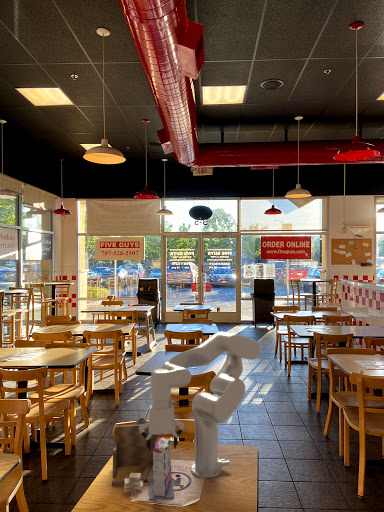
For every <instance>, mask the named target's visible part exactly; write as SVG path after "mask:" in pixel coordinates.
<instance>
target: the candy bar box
mask: <svg viewBox="0 0 384 512" xmlns="http://www.w3.org/2000/svg"><path fill="white" fill-rule="evenodd" d="M152 470H153V471H152V477H153V478H152V481H153V491H154V492H153V493H154V496H162V497H166V495H167V492H168V489H169V486H170V483H171V481H172V480H173V479H172V438H164V437H163V438H162V437H161V438H158V442H157V444H156V446H155V448H154V450H153V465H152Z"/></svg>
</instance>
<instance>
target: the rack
mask: <svg viewBox="0 0 384 512" xmlns="http://www.w3.org/2000/svg"><path fill="white" fill-rule="evenodd" d="M142 425H143V424H140V425H134V424H126V425H125V424H123V425H121V424H120V425H114V442H113V448H112V479H114V480H111V487H116V486H117V487H118V486H124V483H125V479H119V480H118V479H117V473H118V468H131V467H132V468H134V467H148V466H153V450H154V448H155V446H156V444H157V442H158V440H159V438H158V435H152V436H151V437H150V444H151V450H150V451H149V447H148V448H147V440H146V438H144V437H143V436H142V434H141V432H140V431H139V427H140V426H142ZM144 431H145V432H146V433H148V432H149V428H148V427H147V428H145V429H144ZM115 479H117V480H115ZM140 481H143V485H145V483H148V484H149V478H148V477H146V478H141V479H140Z"/></svg>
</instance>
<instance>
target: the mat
mask: <svg viewBox="0 0 384 512" xmlns="http://www.w3.org/2000/svg"><path fill="white" fill-rule="evenodd" d="M148 484H149V487H148V488H149V489H150V490H149V501H158V500H159V499H162V500H173V499H175V491H174V490H175V488H174V482H173V479H172V481H171V483H170V486H169V489H168V492H167V495H166V497H162V496H154V493H153V492H154V491H153V480H148ZM159 501H160V500H159Z"/></svg>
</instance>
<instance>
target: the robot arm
mask: <svg viewBox="0 0 384 512" xmlns="http://www.w3.org/2000/svg"><path fill="white" fill-rule="evenodd" d="M224 353H226V359H225V363H224V364H223V366H222V367H221V368H220V370H219V371H218V372H217V373H216V375H215V376H214V377H213V378H212V379H211V381H210V385H209V388H210V392H212V393H210V392H206V391H200V392H197V394H195V395H194V397H193V399H192V401H191V402H192V404H191V408H192V409H191V410H192V413H193V414H192V415H193V420H194V463H193V464H192V465H191V468H190V470H191V473H192V474H193V475H195V476H196V477H199V478H202V479H213V478H215V477H218V476H219V475H221V474H222V471H223V470H222V469H223V467H230V461H229V460H226V459H225V458H221V459H220V458H219V445H218V443H219V442H218V441H219V439H218V438H219V435H218V434H219V433H218V432H219V431H218V430H219V428H218V424H224V423H226V422H227V421H228V420H229V419H230V418H231V416H232V415H233V413H235V411H236V410H237V408H238V406H239V405H240V404H241V402H242V401H243V400H244V396H245V394H246V385H245V382H244V381H243V380H242V379H240V377H241V375H242V373H243V369H244V366H243V359H246V360H251V361H252V360H255V359H258V357H259V356H260V354H261V346H260V344H259V342H258V341H257V340H255V339H252V338H248V337H245V336H243V335H239V334H236V333H232V332H227V331H218V332H215V333H214V334H212V335H211V336H210V337H208V338H207V339H206V340H204V341H203V342H202V343H200V344H199V345H197V346H196V347H193V348H191V349H188V350H186V351H182V352H180V353H177V354H176V355H173V356H172V357H171V358H170V359H168V360H166V361H165V363H163V364H162V365H161V367H160V368H157V369H154V370H152V372H151V374H150V390H151V391H150V398H151V399H150V400H151V403H150V404H151V405H149V408H148V420H147V423H145V424H143V425H142V426H140V427H139V431H140V432H141V434H142V436H143V437H144V438H146V440H147V448H148V447H149V451H150V450H151V444H150V437H151V436H152V435H157V436H159V435H169V434H172V436H173V448H174V450H176V449H177V446H178V444H179V443H178V442H179V437H180V435H181V434H182V433H183V431H184V428H185V423H183V422H181V421H179V420H177V419H176V418H175V417H176V416H175V415H176V413H175V408H174V404H173V403H176V399H175V398H172V389H177V388H183V387H186V386H188V385H189V384H190V382H191V380H192V373H191V371H190V370H189V368H195V367H203V366H208V365H210V364H211V363H212V362H214V361H215V360H216V359H217V358H218V357H220V356H221V355H222V354H224ZM176 426H178V427H179V428H178V430H176ZM147 427H148V428H149V432H148V433H146V432H145V431H144V429H145V428H147Z"/></svg>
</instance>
